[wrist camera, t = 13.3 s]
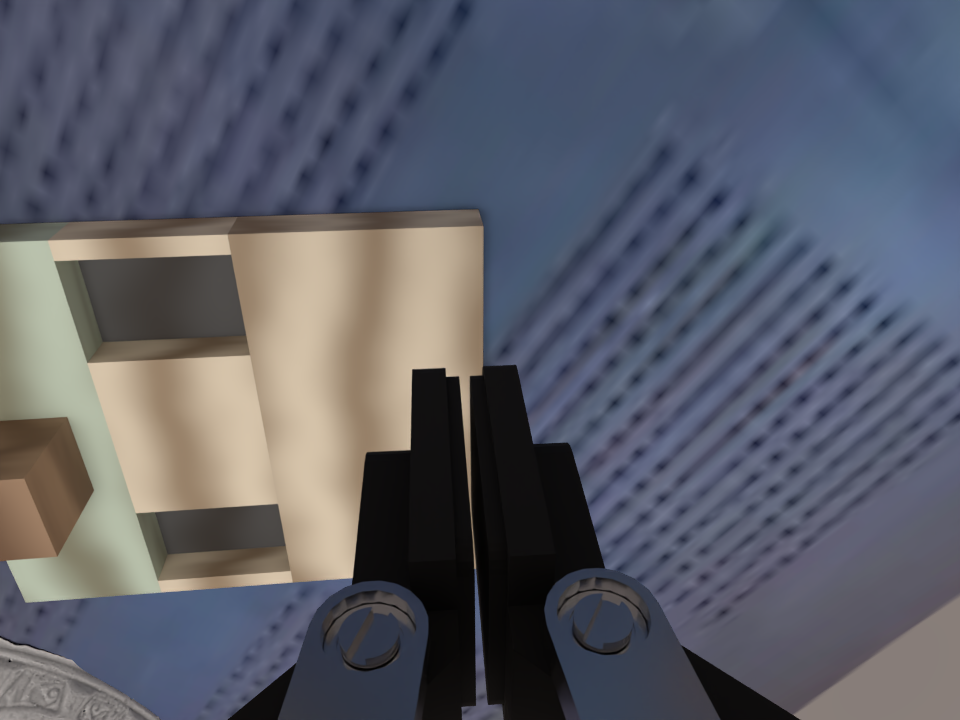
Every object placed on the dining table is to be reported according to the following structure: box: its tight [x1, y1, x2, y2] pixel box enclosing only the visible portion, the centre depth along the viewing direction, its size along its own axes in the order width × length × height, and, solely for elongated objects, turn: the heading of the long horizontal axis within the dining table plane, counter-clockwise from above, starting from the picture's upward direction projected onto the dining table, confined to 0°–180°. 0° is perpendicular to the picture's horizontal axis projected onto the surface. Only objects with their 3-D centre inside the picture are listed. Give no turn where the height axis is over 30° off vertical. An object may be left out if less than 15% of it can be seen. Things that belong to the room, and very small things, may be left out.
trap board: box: [0, 209, 483, 603], centre depth 40 cm, size 28×23×2 cm
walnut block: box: [0, 417, 94, 561], centre depth 36 cm, size 5×5×5 cm
